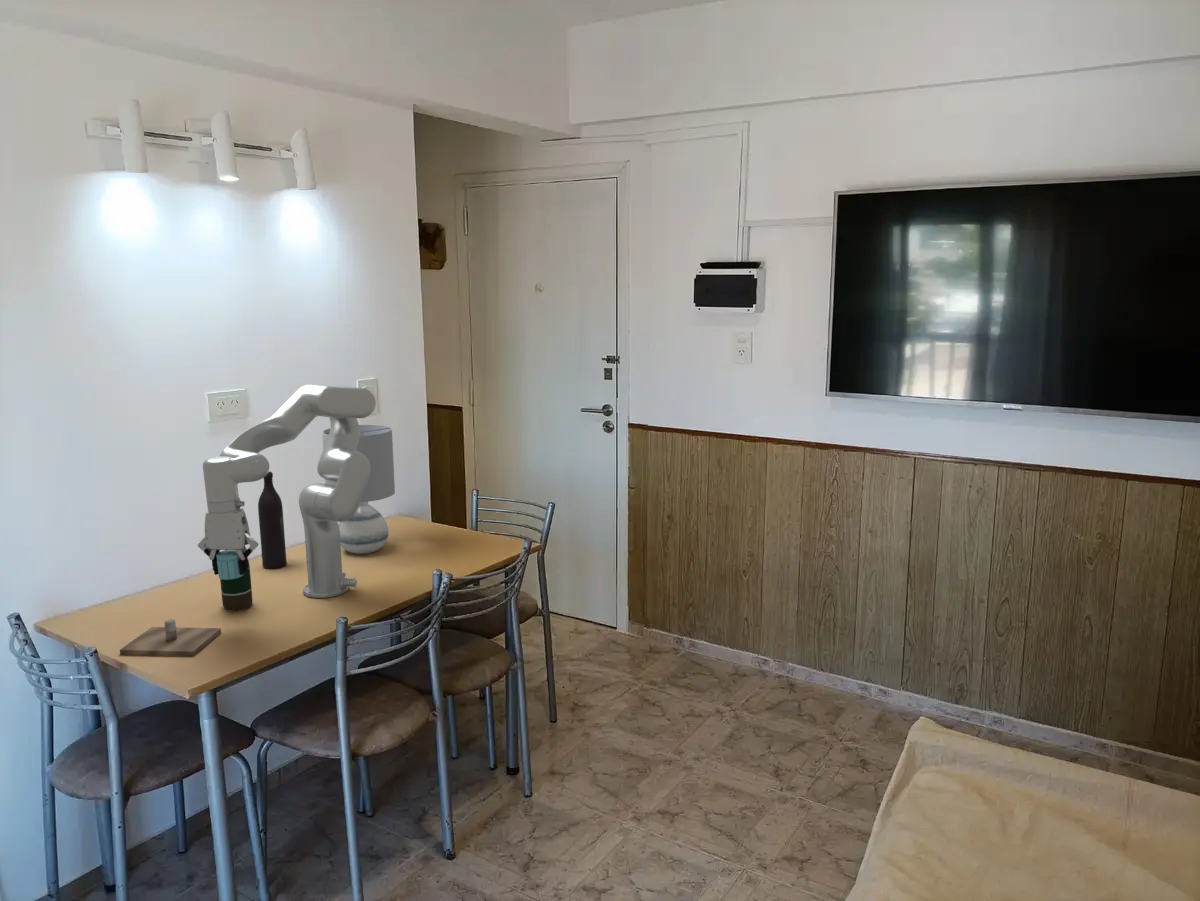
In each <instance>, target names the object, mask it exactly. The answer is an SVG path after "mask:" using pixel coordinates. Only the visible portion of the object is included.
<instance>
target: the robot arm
mask: <svg viewBox="0 0 1200 901" xmlns="http://www.w3.org/2000/svg"><path fill="white" fill-rule="evenodd" d="M376 404H377V401H376V397H375V395H374V394H373V392H372V391H371V390H369V389H368V388H364V387H357V386H355V387H353V386H347V385H346V386H344V385H334V386H333V385H332V386H331V385H324V384H323V385H321V384H304V385H302V386H300V387H299V388H298V389H297V390H296V391H294V393H293V394H292V395H291V396H290V397H289V398H287V400H285V401H284V403H283V404H282V405H281V406H280V407H279V408H277V410H276V411H275V412H274V413H273V414H271V416H270V417H268V418H266V419H264V420H262V421H261V422H258V423H256V424H255V425H253V426H252V427H249V428H248V429H246V430H244V431H243V432H241V433H240V434H238V435H237V436H235V438H234V439H233V440H231V442H230V443H228V445H227V446H226V447H225V448H224V449H223V451H221V453H220V454H219V456H214V457H210V458H206V459H205V460H204V461H203V463H202V470H203V472H202V473H203V480H204V481H203V482H204V487H205V488H204V489H205V490H204V491H205V497H206V506H207V507H206V508H207V510H206V512H205V516H204V536H203V538H202V539H201V540H200V541H199V543H198V544H197V547H198V548H199V549H200V550H201V551H202V552H203V553H204V554H205V555H206V556H208V557H209V558H208V559H209V560H210V561H211V564H212V571H213V572H214V573H213V574H214V575H215V576H216V575H217V576H218V567H217V557H216V554H217V553H219V552H221V551H225V550H236V551H237V553H238V555H239V557H240V560H239V561H238V564H239V573H240V575H243V574H244V573H246V572H247V571H248V561H249V558H248V557H249V556H250V555H251V554H252V553H253V552H254V551H255V549H257V547H259V543H258V542H257V541H256V540H255V539H254V538H253V537H252V536H251V532H250V526H249V522H248V518H247V515H246V511H245V510H244V508H242V507H245V501H244V500H243V501H242V500H241V498H240V495H239V486H238V484H241V483H242V484H243V483H253V482H259V481H260V480H262V479H264V477H265V476H266V475H267V473H268V472H270V462H269V460H268V459H267V457H266V456H264V455H262V454H260V453H261V452H262V451H264V450H265V449H268V448H270V447H271V448H272V447H275V446H278V445H282V444H286V443H289V442H293V441H294V440H295V439H297V437H298V436H300V434H301V433H302V432H303V431H304V430H305V429H306V428H307V427H308V426H309V425H310V424H311V423H312V422H313V421H314V420H315V419H316V418H317V417H324V418H328V419H329V422H330V424H329V425H330V428H331V429H330V433H329V436H328V439H327V441H326V444H325V447H324V449H322V451H321V454H320V456H319V460H318V462H317V467H316V468H317V469H316V471H317V473H318V476H320V477H321V478H323V480H325V479H326V480H330V481H334V482H337V484H336V486H333V485H328V484H326V483H321V482H315V483H310V484H308V485H306V486H304V488H302V490H301V492H300V493H299V498H298V506H299V510H300V514H301V519H302V522H303V528H304V539H305V540H304V541H305V557H306V570H307V584H306V585H305V586H304V587H303V589H302V592H303V594H304V596H306V597H308V598H315V599H324V598H325V599H326V598H332V597H336V596H340V595H343V594H345V593H346V592H347V591H348V590H349V588H351V587H353V588H354V587H357V584H358V583H357V582H358V581H357V579H356V578H355V577H347V575H346V574H347V573H346V572H343V566H342V561H343V560H342V547H341V545H340V530H339V523H340V522H344V521H347V520H349V519H350V518H351V517H352V516H353V515H354V514H355V512H356V510H357V508H358V506H359V503H360V500H361V498H362V495H363V493H364V490H365V487H366V485H367V482H368V479H369V475H370V463H369V460H368V458H367V457H366V456H365V455H364V454H363V453H360V452H357V451H356V448H357V445H358V442H359V439H360V427H359V425H360V424H359V422H358V419H365V418H367V417H369V416H370V415H372V413H373V412H374V411H375V409H376ZM247 545H249V547H248V548H247Z"/></svg>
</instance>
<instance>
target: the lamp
mask: <svg viewBox="0 0 1200 901" xmlns="http://www.w3.org/2000/svg"><path fill="white" fill-rule="evenodd" d="M359 427H360V439H359V442H358V445H357V448H356V451H357V452H360V453H363V454H364V455H365V456H366V457H367V458H368V460H369V463H370V475H369V479H368V482H367V485H366V487H365V490H364V493H363V495H362V498H361V500H360V503H359V506H358V508H357V510H356V512H355V514H354V515H353V516H352V517H351V518H350V519H349V520H347V521H344V522H338V525H339V530H340V545H341V549H343V550H345V551H347V552H348V553H351V554H353V555H356V554H357V555H365V554H366V555H368V554H371V553H376V552H377V551H379V550H381V549H382V548H383V547H384V546H385V544H386V543H388V539H389V534H390V533H389V527H388V524H387V521H386V518H385V517H384V516H383V514H381V512H379V510H377V509H376V508H375V507H373V506H371V505H370V504H369V502H375V501H381V500H384V499H387V498H390V497H392V496H394V495H395V492H396V488H395V486H396V485H395V467H394V466H395V465H394V445H393V444H394V443H393V429H392V427H391V426H387V425H384V424H383V425H382V424H359ZM330 429H331V427H329V428H325V429H324V430H322V435H321V436H322V448H323V449H324V447H325V444H326V441H327V439H328V436H329V433H330ZM323 449H322V450H323ZM324 481H325V483H324V484H328V485H333V486H336V484H337V482H334V481H330V480H326V479H324Z"/></svg>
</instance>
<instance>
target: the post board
mask: <svg viewBox="0 0 1200 901" xmlns="http://www.w3.org/2000/svg"><path fill="white" fill-rule="evenodd" d="M163 623H164V626H151V627H150V628H148V629H146V630H145V631H144V632H142V633H141V634H140V635H139V636H137V637H136V638H134V639H133V640H132V641H130V642H129V643H127V644H126V645H124V646H123V647H121V648H120V649H119V655H121V656H122V655H123V656H128V655H129V656H167V657H169V656H170V657H171V656H172V657H195V655H197V654H198V653H199V652H200V651H201V650H203V649H204V648H205V647H206V646H207V645H209V643H211V642H212V641H213V640H214V639H216V638H217V637H218V636H219V635H221V633H222V630H221V629H222V628H219V627H218V628H217V627H215V628H213V627H176V626H177V625H176V619H172V618H171V619H168V620H165V621H164V622H163Z"/></svg>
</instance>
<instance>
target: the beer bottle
mask: <svg viewBox="0 0 1200 901" xmlns="http://www.w3.org/2000/svg"><path fill="white" fill-rule="evenodd" d="M219 581H220V589H221V591H220V592H221V600H222V606H223V608H224V609H225V611H229V612H238V611H242V610H246V609H248V608H250V607H252V606H253V590H252V577H251V568H250V560H248V571H247V572H246V573H244V575H243V576H241V577H239V578H236V579H230V580H223V579H219Z"/></svg>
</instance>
